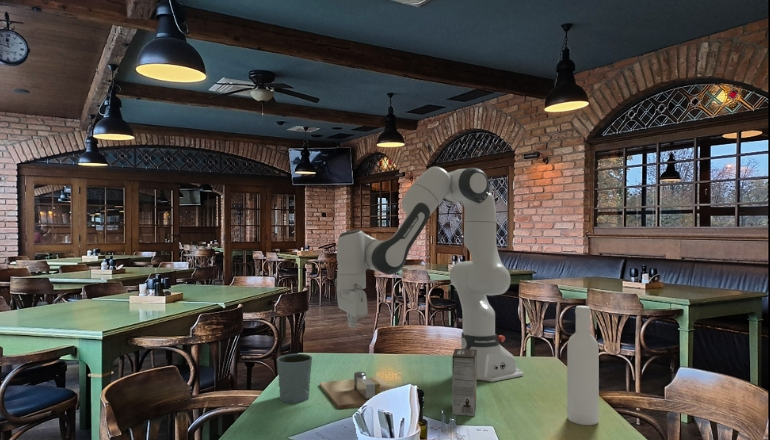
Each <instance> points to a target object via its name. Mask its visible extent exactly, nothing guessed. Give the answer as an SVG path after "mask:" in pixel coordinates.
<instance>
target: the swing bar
mask: <svg viewBox="0 0 770 440" xmlns="http://www.w3.org/2000/svg"><path fill="white" fill-rule="evenodd" d="M369 378H370V377H367V373H366V372H365V371H355V372H354V373H353V379H354V389H355V390H357V391H358V392H359V393H360V394H361V395H362V396H363V397H364V398H365V399H370V398H372V397H373V396H375V383H373V382H372V381H371V380H370V379H369Z"/></svg>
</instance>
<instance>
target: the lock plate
mask: <svg viewBox="0 0 770 440" xmlns="http://www.w3.org/2000/svg"><path fill="white" fill-rule="evenodd" d="M368 378H369V379H370V380H371V381H372V382H373V383H375V395H377V394H378V393H380V392H382V391H385V390H388V389H391V388H393V387H392V386H391V385H389V384H388V383H387V382H386V381H384V380H383V379H382V378H381V377H380V376H376V377H375V376H374V377H368ZM319 387H320V388H321V389H322V390H323V392H324V393H325V394H326V396H327V397H328V398H329V399H330V401H331V402H332V403H333V404H334V405H335V406H336V408H337V409H338V410H341V409H342V410H343V409H349V408H351V409H352V408H359V407H360V406H361V407H363V406H362V405H363V404H364V403H365V402H366V401H367V400H369V399H365V398H364V397H363V396H362V395H361V394H360V393H359V392H358V391H357V390H355V389H354V378H353V379H352V378H351V379H341V380H332V381H331V380H330V381H322V382H319ZM361 407H360V408H361Z"/></svg>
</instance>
